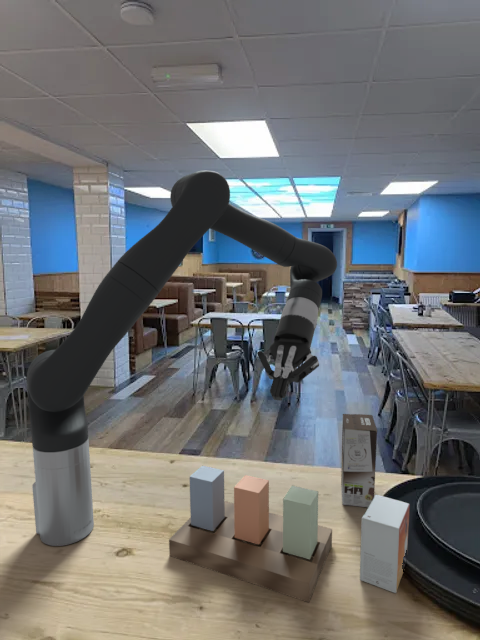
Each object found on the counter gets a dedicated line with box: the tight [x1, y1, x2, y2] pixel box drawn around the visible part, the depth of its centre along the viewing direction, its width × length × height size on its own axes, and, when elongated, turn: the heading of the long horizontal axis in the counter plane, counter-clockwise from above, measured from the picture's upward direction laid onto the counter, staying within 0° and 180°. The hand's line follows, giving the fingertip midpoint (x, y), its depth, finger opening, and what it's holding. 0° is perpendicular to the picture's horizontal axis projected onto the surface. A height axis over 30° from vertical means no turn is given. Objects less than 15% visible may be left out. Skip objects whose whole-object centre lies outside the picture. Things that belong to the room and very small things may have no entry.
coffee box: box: [340, 413, 378, 508], centre depth 90 cm, size 9×6×16 cm
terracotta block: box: [233, 474, 270, 546], centre depth 73 cm, size 4×4×9 cm
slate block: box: [189, 465, 225, 532], centre depth 77 cm, size 4×4×9 cm
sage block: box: [282, 485, 319, 560], centre depth 70 cm, size 4×4×9 cm
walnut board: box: [168, 500, 333, 603], centre depth 74 cm, size 24×14×3 cm, turn 65°
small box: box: [359, 494, 411, 594], centre depth 68 cm, size 8×6×10 cm
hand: (276, 398), depth 82 cm, fingers closed
